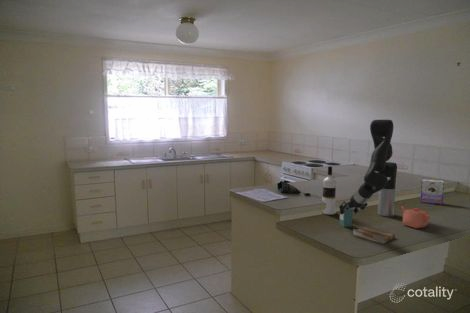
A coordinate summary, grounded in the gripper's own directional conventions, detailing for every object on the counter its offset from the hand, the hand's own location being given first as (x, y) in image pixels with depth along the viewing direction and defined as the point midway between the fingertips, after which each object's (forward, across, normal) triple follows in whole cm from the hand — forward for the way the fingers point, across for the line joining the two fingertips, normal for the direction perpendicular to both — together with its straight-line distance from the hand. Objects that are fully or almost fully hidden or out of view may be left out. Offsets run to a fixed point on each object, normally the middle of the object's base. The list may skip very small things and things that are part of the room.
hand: (347, 212), depth 192 cm
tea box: (+7, 0, +4) cm, 8 cm away
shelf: (-7, -5, +18) cm, 20 cm away
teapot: (+1, -38, +10) cm, 39 cm away
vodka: (+24, -2, -13) cm, 27 cm away
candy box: (+30, -87, -19) cm, 94 cm away
